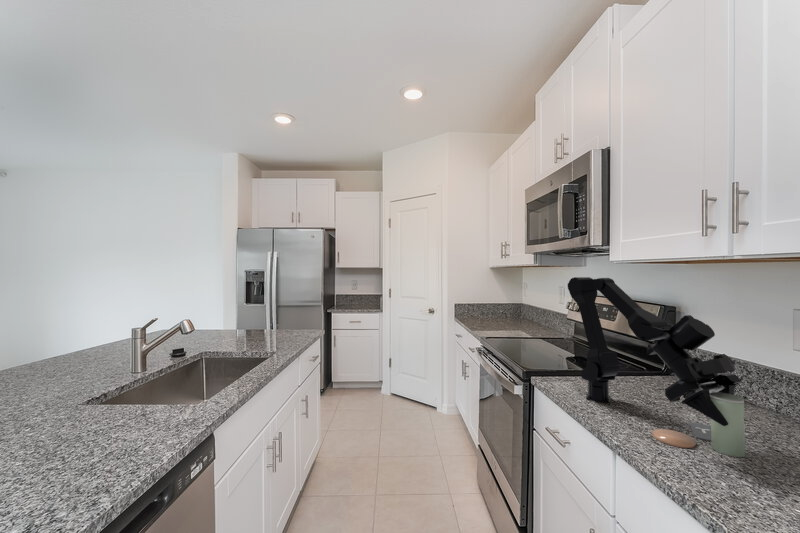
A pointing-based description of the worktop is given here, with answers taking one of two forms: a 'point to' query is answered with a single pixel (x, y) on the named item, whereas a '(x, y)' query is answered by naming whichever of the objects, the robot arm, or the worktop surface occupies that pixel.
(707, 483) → the worktop surface
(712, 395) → the green tumbler
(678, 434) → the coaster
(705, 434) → the tile
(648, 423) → the worktop surface
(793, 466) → the worktop surface
